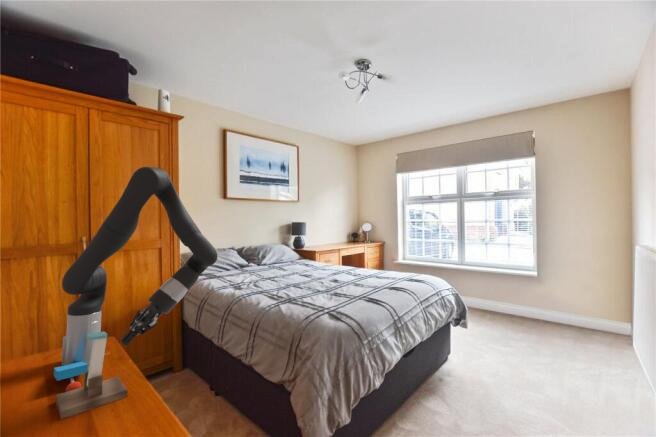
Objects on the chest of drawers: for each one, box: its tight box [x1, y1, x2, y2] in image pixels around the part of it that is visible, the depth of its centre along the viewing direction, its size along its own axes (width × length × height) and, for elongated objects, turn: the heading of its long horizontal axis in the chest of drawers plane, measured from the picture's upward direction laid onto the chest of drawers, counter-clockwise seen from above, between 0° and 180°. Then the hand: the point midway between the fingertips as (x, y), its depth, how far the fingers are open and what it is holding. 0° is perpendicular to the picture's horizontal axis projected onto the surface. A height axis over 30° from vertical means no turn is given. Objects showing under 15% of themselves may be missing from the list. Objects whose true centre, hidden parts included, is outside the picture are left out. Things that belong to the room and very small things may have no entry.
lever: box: [53, 362, 89, 392], centre depth 90 cm, size 7×7×18 cm
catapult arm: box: [87, 330, 108, 386], centre depth 82 cm, size 4×4×14 cm
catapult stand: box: [55, 370, 128, 420], centre depth 82 cm, size 14×10×7 cm
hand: (122, 343), depth 87 cm, fingers closed
